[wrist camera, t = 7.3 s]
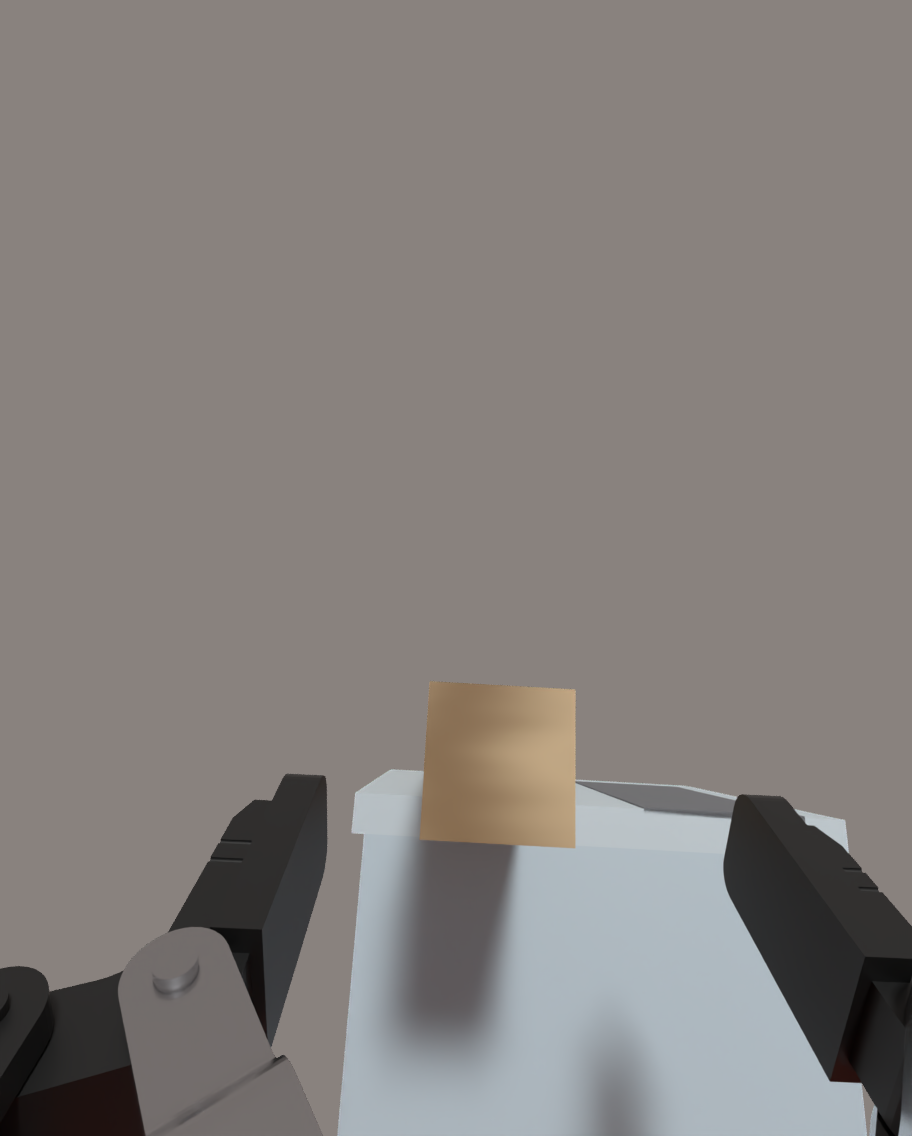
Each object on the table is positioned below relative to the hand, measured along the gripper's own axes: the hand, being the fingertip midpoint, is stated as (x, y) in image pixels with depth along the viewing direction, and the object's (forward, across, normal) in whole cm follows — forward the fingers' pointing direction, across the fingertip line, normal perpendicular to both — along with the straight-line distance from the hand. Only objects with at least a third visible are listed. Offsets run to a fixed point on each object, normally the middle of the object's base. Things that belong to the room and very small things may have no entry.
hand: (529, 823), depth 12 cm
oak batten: (+9, -1, -6) cm, 11 cm away
